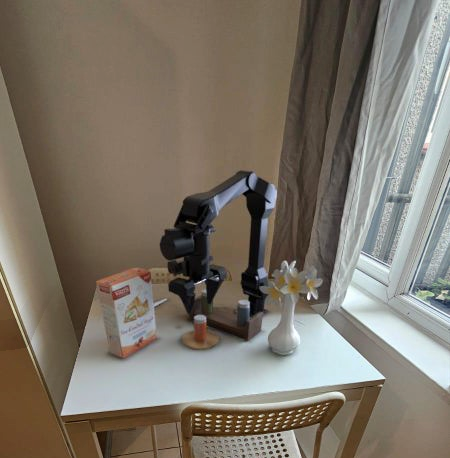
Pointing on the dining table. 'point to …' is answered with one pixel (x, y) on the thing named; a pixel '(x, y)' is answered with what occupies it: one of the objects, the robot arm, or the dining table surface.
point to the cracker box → (127, 310)
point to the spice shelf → (228, 321)
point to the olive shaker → (205, 303)
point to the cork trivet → (193, 344)
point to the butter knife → (159, 302)
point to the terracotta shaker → (200, 328)
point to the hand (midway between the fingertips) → (199, 308)
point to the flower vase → (288, 303)
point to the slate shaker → (243, 312)
